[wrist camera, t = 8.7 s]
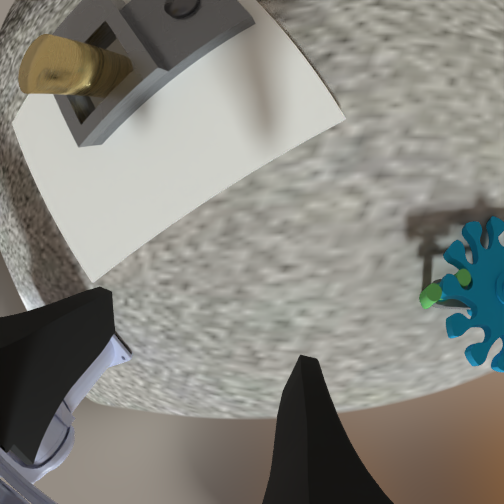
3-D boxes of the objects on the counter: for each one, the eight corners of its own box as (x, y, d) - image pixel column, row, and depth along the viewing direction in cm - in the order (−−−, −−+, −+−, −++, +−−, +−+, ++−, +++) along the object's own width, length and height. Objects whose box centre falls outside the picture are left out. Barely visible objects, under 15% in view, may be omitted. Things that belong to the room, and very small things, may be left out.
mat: (99, 278, 22) (92, 283, 21) (19, 122, 18) (12, 123, 17) (343, 120, 14) (346, 119, 13) (192, -54, 10) (187, -60, 9)
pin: (107, 107, 15) (26, 106, 9) (90, 77, 14) (14, 69, 8) (140, 75, 14) (60, 56, 8) (121, 46, 13) (46, 23, 7)
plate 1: (101, 144, 16) (78, 147, 14) (58, 57, 14) (37, 54, 12) (177, 75, 14) (157, 67, 12) (118, -6, 12) (99, -16, 9)
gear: (545, 221, 11) (557, 365, 8) (510, 254, 16) (512, 372, 13) (424, 200, 15) (422, 374, 11) (404, 242, 20) (396, 374, 16)
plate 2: (101, 144, 16) (86, 146, 15) (68, 79, 15) (53, 77, 13) (255, 23, 12) (250, 12, 10) (198, -35, 10) (189, -46, 9)
